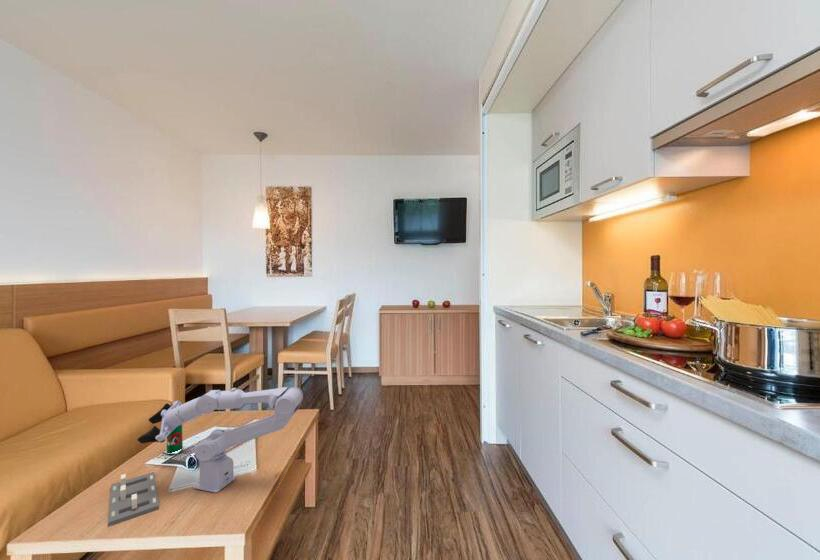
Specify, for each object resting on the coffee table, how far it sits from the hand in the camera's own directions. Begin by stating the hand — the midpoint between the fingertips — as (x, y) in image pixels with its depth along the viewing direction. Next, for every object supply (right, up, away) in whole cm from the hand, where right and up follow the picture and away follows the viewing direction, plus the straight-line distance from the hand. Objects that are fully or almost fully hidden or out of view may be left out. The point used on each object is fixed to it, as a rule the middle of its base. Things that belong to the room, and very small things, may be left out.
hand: (145, 430), depth 111 cm
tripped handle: (+6, -16, -12) cm, 21 cm away
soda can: (-5, -17, +21) cm, 27 cm away
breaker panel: (+1, -17, -6) cm, 19 cm away
